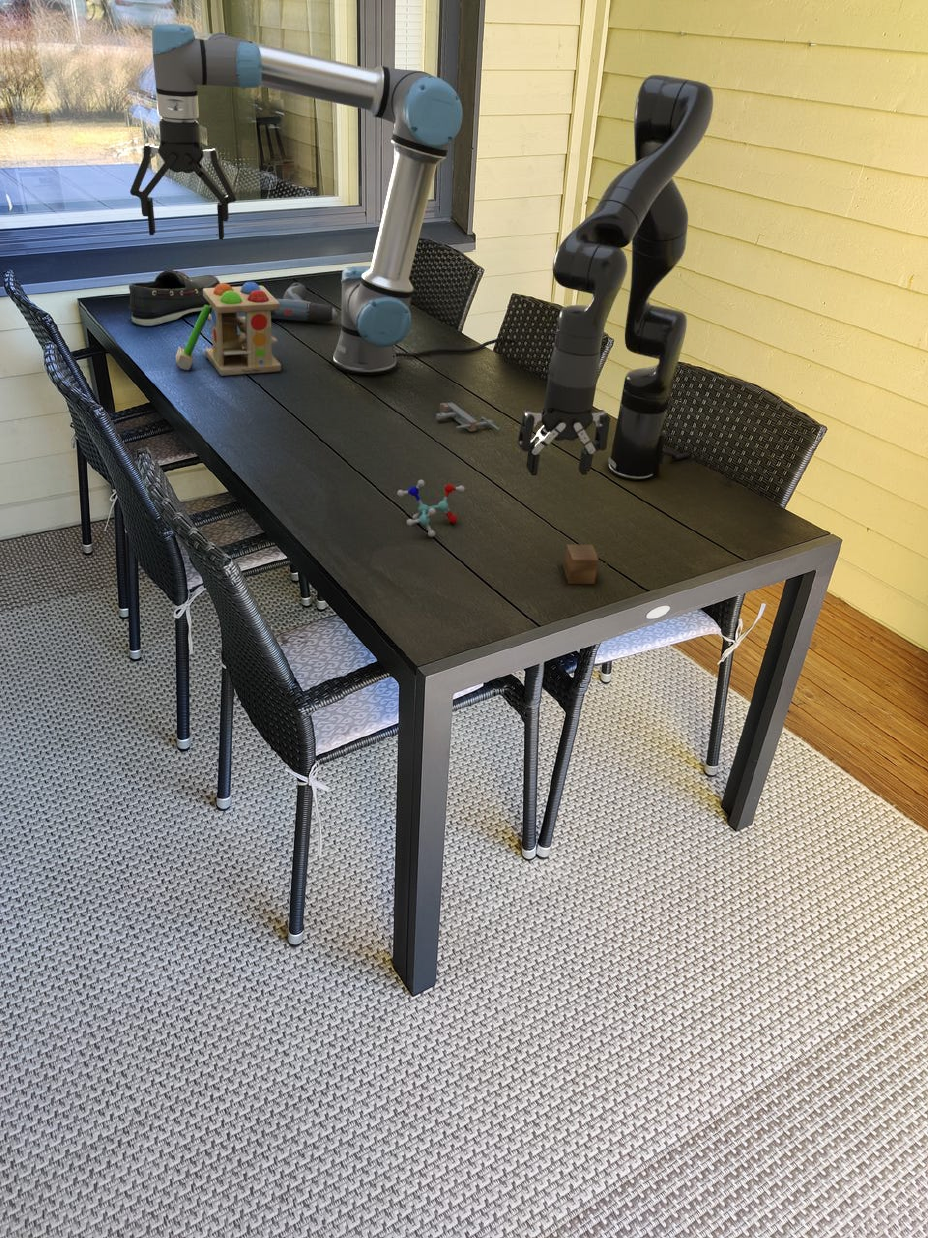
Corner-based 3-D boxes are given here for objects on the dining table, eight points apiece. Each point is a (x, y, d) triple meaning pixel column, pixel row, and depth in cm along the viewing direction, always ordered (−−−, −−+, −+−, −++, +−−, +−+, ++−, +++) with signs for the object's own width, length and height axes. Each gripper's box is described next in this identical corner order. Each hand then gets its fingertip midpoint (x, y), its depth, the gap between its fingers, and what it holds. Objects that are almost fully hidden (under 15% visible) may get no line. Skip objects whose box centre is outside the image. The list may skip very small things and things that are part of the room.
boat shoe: (241, 304, 270) (238, 265, 264) (149, 328, 246) (144, 285, 240) (207, 295, 275) (204, 257, 270) (113, 318, 251) (108, 276, 246)
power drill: (344, 304, 276) (335, 327, 259) (277, 298, 275) (264, 321, 258) (344, 285, 273) (335, 306, 256) (277, 279, 272) (264, 300, 255)
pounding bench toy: (183, 379, 220) (176, 299, 210) (169, 357, 231) (162, 280, 221) (282, 371, 230) (280, 294, 220) (264, 350, 240) (262, 276, 230)
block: (568, 583, 162) (572, 559, 160) (562, 568, 166) (566, 544, 164) (594, 584, 163) (598, 559, 160) (588, 568, 167) (592, 544, 164)
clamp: (428, 404, 215) (467, 399, 219) (427, 414, 216) (466, 408, 220) (462, 431, 204) (502, 425, 209) (461, 441, 205) (501, 434, 210)
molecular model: (455, 530, 166) (436, 473, 165) (406, 545, 170) (387, 490, 168) (476, 520, 177) (458, 467, 175) (430, 535, 180) (412, 483, 179)
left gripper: (106, 116, 181) (119, 236, 193) (244, 127, 185) (248, 244, 197) (114, 110, 188) (126, 227, 200) (247, 121, 191) (251, 234, 203)
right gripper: (535, 385, 146) (522, 484, 155) (624, 386, 149) (606, 482, 158) (521, 367, 152) (509, 463, 161) (607, 368, 155) (591, 462, 164)
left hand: (187, 235), depth 198 cm, fingers open, 13 cm apart
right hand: (557, 473), depth 160 cm, fingers open, 8 cm apart
